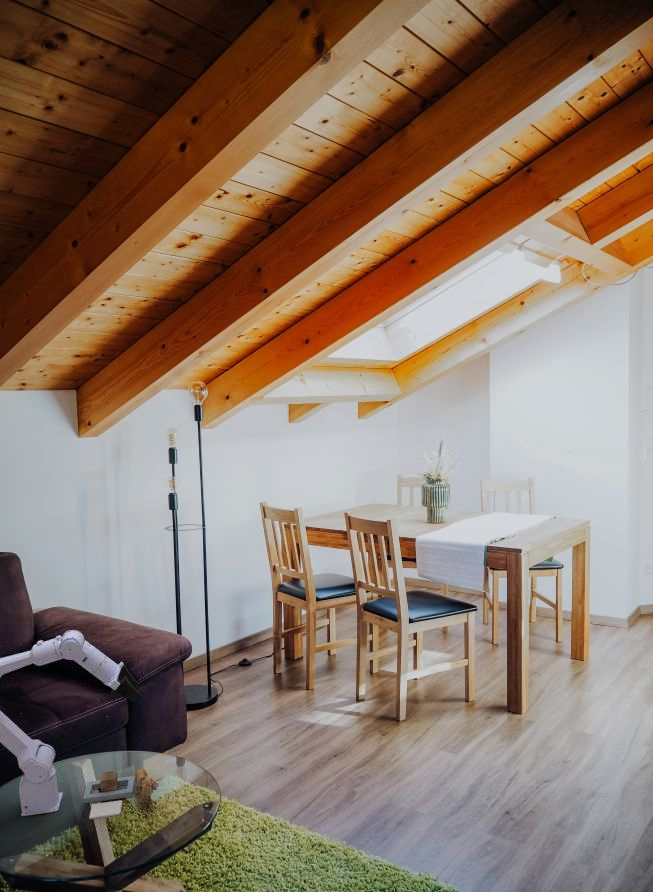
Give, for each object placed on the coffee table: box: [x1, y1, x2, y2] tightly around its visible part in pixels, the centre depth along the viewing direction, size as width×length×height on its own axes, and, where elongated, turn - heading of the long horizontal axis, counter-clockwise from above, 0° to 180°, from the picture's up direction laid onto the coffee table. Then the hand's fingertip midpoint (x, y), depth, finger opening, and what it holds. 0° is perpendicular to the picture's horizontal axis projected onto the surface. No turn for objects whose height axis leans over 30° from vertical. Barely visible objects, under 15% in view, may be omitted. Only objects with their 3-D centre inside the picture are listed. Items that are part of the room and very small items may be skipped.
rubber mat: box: [89, 799, 123, 820], centre depth 206 cm, size 8×6×1 cm
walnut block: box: [99, 770, 119, 793], centre depth 213 cm, size 4×4×5 cm
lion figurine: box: [134, 767, 159, 808], centre depth 210 cm, size 15×5×9 cm, turn 31°
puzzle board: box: [82, 775, 136, 804], centre depth 213 cm, size 13×8×2 cm, turn 98°
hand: (137, 693), depth 208 cm, fingers open, 7 cm apart
